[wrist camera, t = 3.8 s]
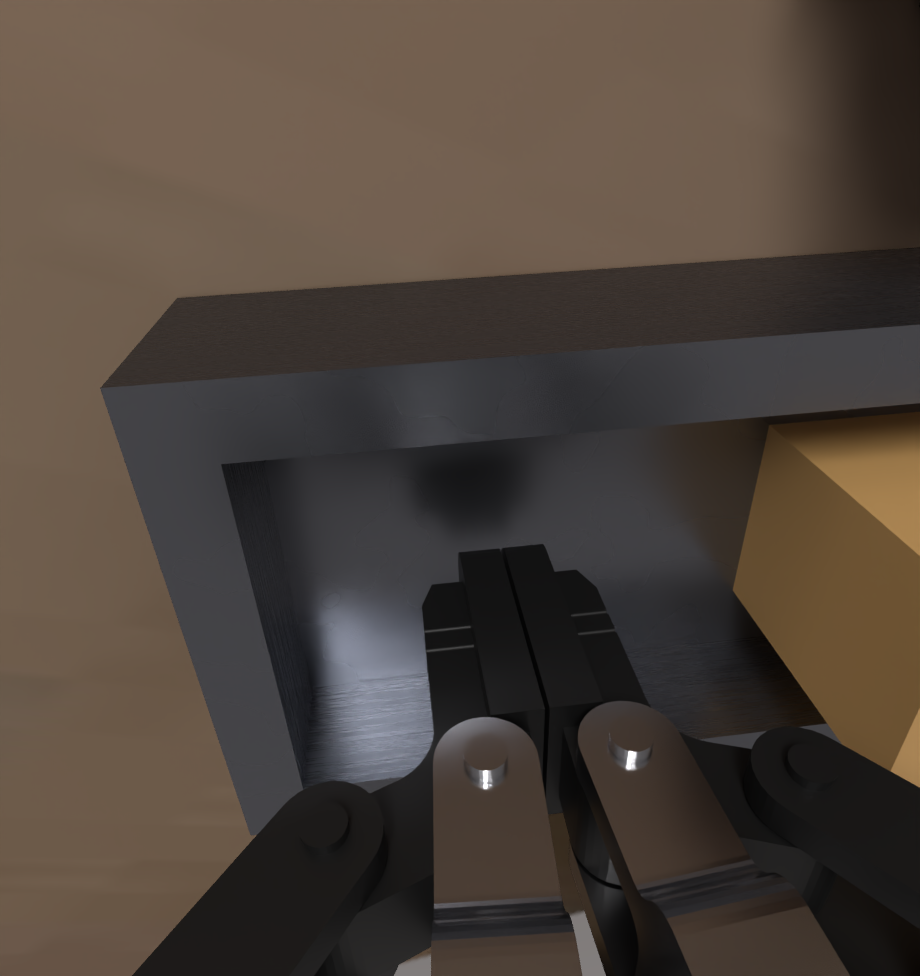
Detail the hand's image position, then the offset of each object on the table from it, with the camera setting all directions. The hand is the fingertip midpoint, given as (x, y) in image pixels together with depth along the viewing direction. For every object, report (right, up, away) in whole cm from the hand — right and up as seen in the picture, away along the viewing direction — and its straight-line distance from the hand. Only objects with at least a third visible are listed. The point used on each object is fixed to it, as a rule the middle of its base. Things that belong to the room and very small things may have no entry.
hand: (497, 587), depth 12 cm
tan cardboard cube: (+7, +1, +2) cm, 8 cm away
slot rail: (+6, +2, +3) cm, 7 cm away
